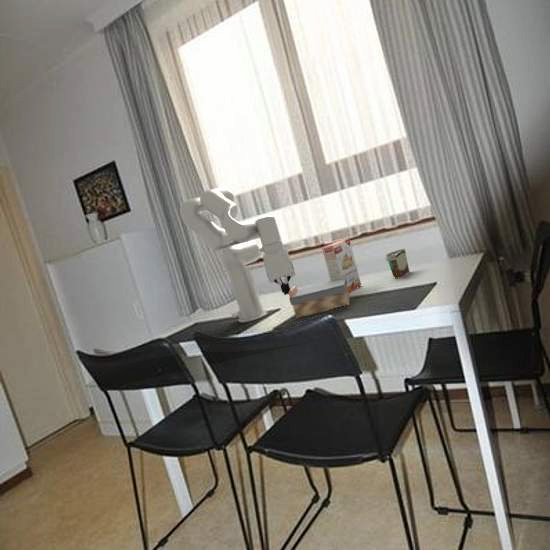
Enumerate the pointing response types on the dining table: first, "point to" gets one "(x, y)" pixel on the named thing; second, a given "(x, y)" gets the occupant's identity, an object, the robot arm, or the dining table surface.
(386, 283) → the dining table surface
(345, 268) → the cracker box
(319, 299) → the box
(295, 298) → the lid
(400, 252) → the food container
